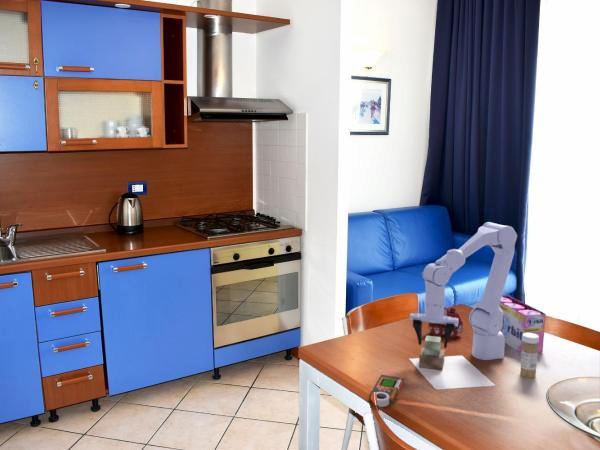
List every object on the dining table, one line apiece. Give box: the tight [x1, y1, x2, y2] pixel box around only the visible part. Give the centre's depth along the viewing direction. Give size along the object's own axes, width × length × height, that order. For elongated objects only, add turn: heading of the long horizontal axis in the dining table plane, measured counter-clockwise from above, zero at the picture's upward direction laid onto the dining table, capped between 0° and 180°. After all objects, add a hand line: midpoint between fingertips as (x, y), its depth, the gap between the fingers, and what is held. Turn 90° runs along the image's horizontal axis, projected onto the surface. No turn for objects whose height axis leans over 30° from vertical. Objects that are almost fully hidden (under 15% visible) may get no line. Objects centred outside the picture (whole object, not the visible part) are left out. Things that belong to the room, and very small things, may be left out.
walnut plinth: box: [418, 346, 446, 371], centre depth 174 cm, size 7×7×4 cm
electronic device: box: [369, 374, 405, 408], centre depth 156 cm, size 7×3×15 cm
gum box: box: [499, 294, 546, 354], centre depth 196 cm, size 24×8×14 cm, turn 12°
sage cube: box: [424, 335, 442, 356], centre depth 173 cm, size 4×4×4 cm
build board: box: [408, 355, 496, 391], centre depth 169 cm, size 18×22×1 cm
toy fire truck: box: [427, 306, 464, 339], centre depth 201 cm, size 7×12×10 cm, turn 75°
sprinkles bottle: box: [519, 333, 539, 379], centre depth 166 cm, size 5×5×13 cm
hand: (432, 345), depth 173 cm, fingers open, 7 cm apart
